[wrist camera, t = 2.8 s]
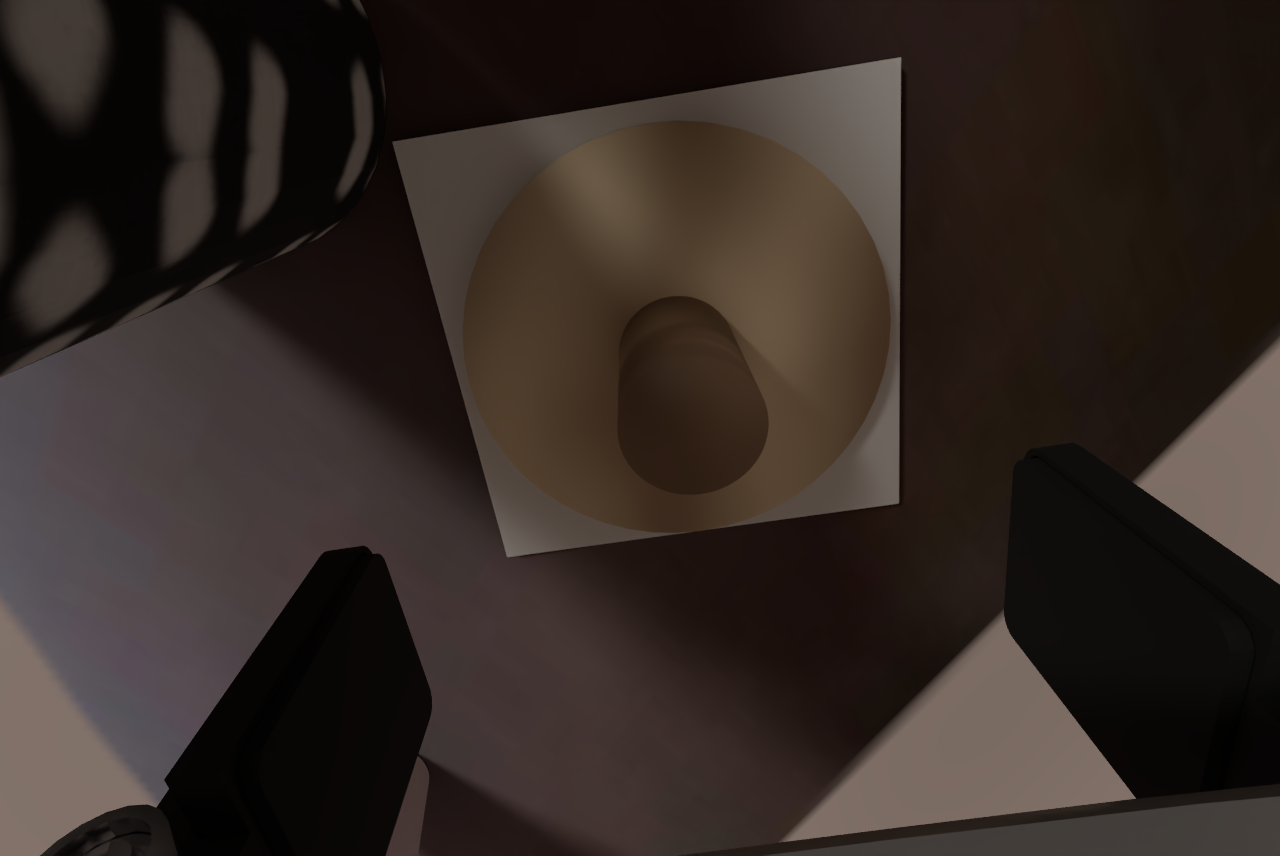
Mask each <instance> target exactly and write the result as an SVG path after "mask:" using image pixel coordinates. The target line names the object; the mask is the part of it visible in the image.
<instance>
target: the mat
mask: <svg viewBox="0 0 1280 856" xmlns="http://www.w3.org/2000/svg"><path fill="white" fill-rule="evenodd" d="M665 121H696V122H709V123H714V124H719V125H724V126H729V127H734V128H739V129H742V130H745V131H748V132H751V133H754V134H757V135H759V136H762V137H765V138H768V139H770V140H772V141H774V142H776V143H778V144H780V145H782V146H784V147H786V148H788V149H789V150H791V151H793V152H795V153H797V154H798V155H800V156H801V157H802V158H804V159H805V160H807V161H808V162H809V163H811V164H812V165H813V166H815V167H816V168H817V169H819V170H820V171H821V172H823V173H824V174H825V175H826V176H827V177H828V178H829V179H830V180H831V181H832V182H833V183H834V184H835V185H836V186H837V187H838V188H839V189H840V190H841V191H842V192H843V194H844V195H845V196H846V198H847V199H848V200H849V202H850V203H851V204H852V206H853V207H854V208H855V210H856V211H857V212H858V214H859V215H860V217H861V218H862V220H863V222H864V224H865V226H866V228H867V230H868V231H869V233H870V235H871V237H872V239H873V241H874V243H875V246H876V249H877V251H878V254H879V257H880V260H881V262H882V265H883V268H884V273H885V278H886V282H887V287H888V292H889V302H890V316H891V327H890V342H889V351H888V356H887V361H886V366H885V371H884V375H883V378H882V381H881V384H880V387H879V390H878V392H877V395H876V398H875V401H874V403H873V405H872V407H871V409H870V411H869V413H868V415H867V417H866V419H865V421H864V423H863V424H862V426H861V427H860V429H859V430H858V432H857V433H856V435H855V437H854V438H853V440H852V441H851V443H850V444H849V445H848V447H847V448H846V449H845V450H844V451H843V452H842V454H841V455H840V456H839V457H838V458H837V460H836V461H835V462H834V463H833V464H832V465H831V466H830V467H829V468H828V469H827V470H826V471H825V472H824V473H823V474H821V475H820V476H819V477H818V478H817V479H816V480H815V481H814V482H813V483H811V484H810V485H809V486H807V487H806V488H804V489H803V490H802V491H800V492H799V493H798V494H796V495H795V496H794V497H792V498H790V499H788V500H787V501H785V502H783V503H781V504H780V505H778V506H776V507H775V508H773V509H771V510H768V511H766V512H764V513H762V514H759V515H757V516H755V517H752V518H750V519H747V520H744V521H741V522H738V523H734V524H731V525H728V526H724V527H731V526H739V525H746V524H753V523H760V522H768V521H775V520H782V519H790V518H797V517H804V516H811V515H819V514H826V513H833V512H841V511H848V510H855V509H862V508H870V507H877V506H884V505H892V504H899V384H900V171H901V57H899V58H893V59H887V60H881V61H875V62H869V63H863V64H857V65H851V66H845V67H839V68H833V69H827V70H821V71H815V72H809V73H803V74H797V75H791V76H785V77H779V78H773V79H767V80H761V81H755V82H749V83H743V84H737V85H731V86H725V87H719V88H713V89H707V90H701V91H695V92H689V93H683V94H677V95H671V96H665V97H659V98H653V99H647V100H640V101H634V102H628V103H622V104H616V105H610V106H604V107H598V108H592V109H586V110H580V111H574V112H568V113H562V114H556V115H550V116H544V117H538V118H532V119H526V120H520V121H514V122H508V123H502V124H496V125H490V126H484V127H478V128H472V129H466V130H460V131H454V132H448V133H442V134H436V135H430V136H424V137H418V138H412V139H406V140H400V141H394V142H392V143H393V147H394V150H395V154H396V157H397V161H398V165H399V168H400V172H401V176H402V179H403V183H404V186H405V190H406V194H407V197H408V201H409V204H410V208H411V212H412V215H413V219H414V222H415V226H416V230H417V233H418V237H419V240H420V244H421V248H422V251H423V255H424V259H425V262H426V266H427V269H428V273H429V277H430V280H431V284H432V287H433V291H434V295H435V298H436V302H437V305H438V309H439V313H440V316H441V320H442V324H443V327H444V331H445V334H446V338H447V342H448V345H449V349H450V352H451V356H452V360H453V363H454V367H455V370H456V374H457V378H458V381H459V385H460V389H461V392H462V396H463V399H464V403H465V407H466V410H467V414H468V417H469V421H470V425H471V428H472V432H473V435H474V439H475V443H476V446H477V450H478V453H479V457H480V461H481V464H482V468H483V472H484V475H485V479H486V482H487V486H488V490H489V493H490V497H491V500H492V504H493V508H494V511H495V515H496V518H497V522H498V526H499V529H500V533H501V537H502V540H503V544H504V547H505V551H506V555H507V557H513V556H520V555H527V554H535V553H542V552H549V551H556V550H564V549H571V548H578V547H586V546H593V545H600V544H607V543H615V542H622V541H629V540H637V539H644V538H651V537H658V536H666V535H673V534H680V533H660V532H646V531H639V530H632V529H626V528H622V527H619V526H615V525H611V524H607V523H603V522H601V521H598V520H596V519H593V518H590V517H588V516H585V515H583V514H580V513H578V512H577V511H575V510H573V509H571V508H569V507H567V506H565V505H563V504H561V503H560V502H558V501H556V500H555V499H554V498H552V497H551V496H549V495H548V494H546V493H545V492H543V491H542V490H541V489H539V488H538V487H537V486H536V485H534V484H533V483H532V482H531V481H530V480H529V479H528V478H527V477H526V476H524V475H523V474H522V473H521V472H520V471H519V470H518V469H517V468H516V466H515V465H514V464H513V463H512V462H511V461H510V460H509V458H508V457H507V456H506V455H505V454H504V453H503V451H502V450H501V448H500V447H499V445H498V444H497V442H496V441H495V439H494V438H493V436H492V435H491V433H490V432H489V430H488V428H487V426H486V424H485V422H484V420H483V418H482V416H481V414H480V412H479V410H478V408H477V405H476V402H475V399H474V396H473V393H472V390H471V387H470V384H469V380H468V375H467V370H466V365H465V360H464V347H463V319H464V306H465V300H466V296H467V291H468V286H469V282H470V277H471V274H472V271H473V269H474V266H475V263H476V261H477V258H478V255H479V253H480V250H481V248H482V246H483V244H484V242H485V240H486V239H487V237H488V235H489V233H490V231H491V229H492V228H493V226H494V224H495V222H496V221H497V220H498V218H499V217H500V216H501V214H502V213H503V212H504V210H505V209H506V207H507V206H508V205H509V203H510V202H511V201H512V199H513V198H514V197H515V196H516V195H517V194H518V193H519V192H520V191H521V190H522V189H523V188H524V187H525V186H526V185H527V184H528V183H529V182H530V181H531V180H532V179H533V178H534V177H535V176H536V175H538V174H539V173H540V172H542V171H543V170H544V169H545V168H547V167H548V166H549V165H551V164H552V163H553V162H555V161H556V160H557V159H559V158H560V157H561V156H563V155H565V154H566V153H568V152H570V151H572V150H573V149H575V148H577V147H579V146H580V145H582V144H584V143H586V142H588V141H590V140H593V139H595V138H598V137H600V136H603V135H605V134H608V133H610V132H613V131H615V130H619V129H624V128H628V127H632V126H636V125H640V124H645V123H654V122H665ZM724 527H719V528H724ZM714 529H717V528H714ZM683 533H688V532H683Z"/></svg>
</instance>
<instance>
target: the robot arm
mask: <svg viewBox="0 0 1280 856" xmlns="http://www.w3.org/2000/svg"><path fill="white" fill-rule="evenodd" d="M1004 616H1005V622H1006V625H1007V628H1008V629H1009V632H1010V634H1011V636H1012V637H1013V639H1014V640H1015V641H1016V643H1017V644H1018V645H1019V646H1020V648H1021V649H1022V650H1023V652H1024V653H1025V654H1026V656H1027V657H1028V658H1029V660H1030V661H1031V662H1032V663H1033V665H1034V666H1035V667H1036V668H1037V670H1038V671H1039V673H1040V674H1041V675H1042V676H1043V677H1044V679H1045V680H1046V682H1047V683H1048V684H1049V685H1050V687H1051V688H1052V689H1053V691H1054V692H1055V693H1056V694H1057V696H1058V697H1059V698H1060V700H1061V701H1062V702H1063V704H1064V705H1065V706H1066V707H1067V709H1068V710H1069V712H1070V713H1071V714H1072V715H1073V717H1074V718H1075V719H1076V721H1077V722H1078V723H1079V725H1080V726H1081V727H1082V728H1083V730H1084V731H1085V732H1086V734H1087V735H1088V736H1089V737H1090V739H1091V740H1092V741H1093V743H1094V744H1095V745H1096V747H1097V748H1098V749H1099V751H1100V752H1101V753H1102V755H1103V756H1104V757H1105V758H1106V760H1107V761H1108V762H1109V764H1110V765H1111V766H1112V768H1113V769H1114V770H1115V771H1116V773H1117V774H1118V775H1119V777H1120V778H1121V779H1122V780H1123V782H1124V783H1125V784H1126V786H1127V787H1128V788H1129V790H1130V791H1131V792H1132V794H1133V795H1134V796H1135V797H1136V799H1131V800H1122V801H1115V802H1106V803H1098V804H1089V805H1081V806H1073V807H1065V808H1056V809H1048V810H1040V811H1032V812H1023V813H1015V814H1007V815H999V816H991V817H982V818H974V819H966V820H958V821H949V822H941V823H934V824H925V825H916V826H908V827H900V828H892V829H884V830H876V831H868V832H860V833H852V834H844V835H836V836H829V837H821V838H813V839H806V840H797V841H789V842H781V843H773V844H765V845H757V846H749V847H742V848H734V849H726V850H718V851H710V852H703V853H695V854H687V855H679V856H1280V584H1278V583H1276V582H1275V581H1274V580H1272V579H1271V578H1269V577H1268V576H1267V575H1265V574H1264V573H1262V572H1261V571H1259V570H1258V569H1256V568H1255V567H1253V566H1252V565H1251V564H1249V563H1248V562H1246V561H1245V560H1243V559H1242V558H1241V557H1239V556H1238V555H1236V554H1235V553H1233V552H1232V551H1231V550H1229V549H1228V548H1226V547H1225V546H1223V545H1222V544H1220V543H1219V542H1217V541H1216V540H1215V539H1213V538H1212V537H1210V536H1209V535H1208V534H1206V533H1205V532H1203V531H1202V530H1200V529H1199V528H1197V527H1196V526H1195V525H1193V524H1192V523H1190V522H1189V521H1187V520H1186V519H1184V518H1183V517H1182V516H1180V515H1179V514H1177V513H1176V512H1174V511H1173V510H1172V509H1170V508H1169V507H1167V506H1166V505H1164V504H1163V503H1161V502H1160V501H1158V500H1157V499H1156V498H1154V497H1153V496H1151V495H1150V494H1148V493H1147V492H1145V491H1144V490H1143V489H1141V488H1140V487H1138V486H1137V485H1135V484H1134V483H1133V482H1131V481H1130V480H1128V479H1127V478H1125V477H1124V476H1123V475H1121V474H1120V473H1118V472H1117V471H1115V470H1114V469H1112V468H1111V467H1110V466H1108V465H1107V464H1105V463H1104V462H1102V461H1101V460H1099V459H1098V458H1097V457H1095V456H1094V455H1092V454H1091V453H1089V452H1088V451H1087V450H1085V449H1084V448H1082V447H1081V446H1079V445H1077V444H1075V443H1067V444H1060V445H1054V446H1047V447H1040V448H1033V449H1030V450H1029V451H1028V452H1027V453H1026V455H1025V457H1024V460H1019V461H1018V462H1017V463H1016V464H1015V466H1014V471H1013V484H1012V499H1011V513H1010V528H1009V543H1008V558H1007V573H1006V588H1005V603H1004ZM431 711H432V696H431V691H430V687H429V685H428V682H427V679H426V676H425V673H424V670H423V667H422V665H421V662H420V659H419V656H418V653H417V650H416V648H415V645H414V642H413V639H412V636H411V633H410V630H409V628H408V625H407V622H406V619H405V616H404V613H403V610H402V608H401V605H400V602H399V599H398V596H397V593H396V590H395V588H394V585H393V582H392V579H391V576H390V573H389V571H388V568H387V565H386V562H385V560H384V558H383V557H382V555H380V554H378V553H377V554H372V552H371V551H370V550H369V548H368V547H365V546H359V547H352V548H345V549H338V550H331V551H326V552H324V553H323V554H322V555H321V556H320V557H319V559H318V560H317V562H316V563H315V565H314V566H313V567H312V569H311V570H310V572H309V573H308V575H307V576H306V578H305V579H304V580H303V582H302V583H301V585H300V586H299V588H298V589H297V590H296V592H295V593H294V595H293V596H292V598H291V599H290V600H289V602H288V603H287V605H286V606H285V608H284V609H283V610H282V612H281V613H280V615H279V616H278V618H277V619H276V620H275V622H274V623H273V625H272V626H271V628H270V629H269V630H268V632H267V633H266V635H265V636H264V638H263V639H262V641H261V642H260V643H259V645H258V646H257V648H256V649H255V651H254V652H253V653H252V655H251V656H250V658H249V659H248V661H247V662H246V663H245V665H244V666H243V668H242V669H241V671H240V672H239V673H238V675H237V676H236V678H235V679H234V681H233V682H232V683H231V685H230V686H229V688H228V689H227V691H226V692H225V693H224V695H223V696H222V698H221V699H220V701H219V702H218V704H217V705H216V706H215V708H214V709H213V711H212V712H211V714H210V715H209V716H208V718H207V719H206V721H205V722H204V724H203V725H202V726H201V728H200V729H199V731H198V732H197V734H196V735H195V736H194V738H193V739H192V741H191V742H190V744H189V745H188V746H187V748H186V749H185V751H184V752H183V754H182V755H181V756H180V758H179V759H178V761H177V762H176V764H175V765H174V767H173V768H172V769H171V771H170V772H169V774H168V775H167V777H166V778H165V779H164V780H165V782H166V784H167V786H168V787H169V790H168V791H167V793H166V794H165V796H164V797H163V799H162V800H161V802H160V803H159V805H158V806H157V808H156V807H153V806H150V805H133V806H126V807H123V808H119V809H116V810H113V811H110V812H106V813H104V814H102V815H100V816H98V817H96V818H94V819H92V820H90V821H88V822H86V823H84V824H82V825H80V826H79V827H78V828H76V829H74V830H73V831H71V832H70V833H68V834H67V835H65V836H64V837H62V838H61V839H59V840H58V841H57V842H56V843H54V844H53V845H52V846H51V847H50V848H48V849H47V850H46V851H45V852H44V853H43V854H42V855H40V856H386V853H387V850H388V847H389V844H390V840H391V837H392V834H393V831H394V828H395V825H396V822H397V819H398V816H399V812H400V809H401V806H402V803H403V800H404V797H405V794H406V791H407V788H408V785H409V781H410V778H411V775H412V772H413V769H414V766H415V763H416V760H417V757H418V753H419V750H420V747H421V744H422V741H423V738H424V735H425V732H426V729H427V726H428V722H429V719H430V716H431Z"/></svg>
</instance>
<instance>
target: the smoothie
mask: <svg viewBox="0 0 1280 856" xmlns="http://www.w3.org/2000/svg"><path fill="white" fill-rule="evenodd" d="M428 786H429V772H428V769H427V767H426V765H425V763H424V762H423V761H422V759H421V758H420V757H419V756H418V757H417V760H416V763H415V766H414V769H413V772H412V775H411V778H410V781H409V785H408V788H407V791H406V794H405V797H404V800H403V803H402V806H401V809H400V812H399V816H398V819H397V822H396V825H395V828H394V831H393V834H392V837H391V840H390V844H389V847H388V850H387V853H386V856H418V852H419V846H420V839H421V832H422V826H423V819H424V812H425V806H426V799H427V792H428Z"/></svg>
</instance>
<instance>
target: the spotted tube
mask: <svg viewBox="0 0 1280 856" xmlns="http://www.w3.org/2000/svg"><path fill="white" fill-rule="evenodd" d="M385 108H386V93H385V86H384V78H383V71H382V63H381V57H380V54H379V51H378V48H377V44H376V41H375V38H374V35H373V31H372V28H371V25H370V22H369V19H368V17H367V15H366V13H365V11H364V9H363V6H362V4H361V2H360V0H0V377H1V376H4V375H6V374H8V373H11V372H13V371H15V370H18V369H20V368H22V367H24V366H27V365H29V364H31V363H34V362H36V361H38V360H41V359H43V358H45V357H48V356H50V355H52V354H54V353H57V352H59V351H61V350H64V349H66V348H68V347H71V346H73V345H75V344H77V343H80V342H82V341H84V340H87V339H89V338H91V337H94V336H96V335H98V334H100V333H103V332H105V331H107V330H110V329H112V328H114V327H117V326H119V325H121V324H124V323H126V322H128V321H130V320H133V319H135V318H137V317H140V316H142V315H144V314H147V313H149V312H151V311H153V310H156V309H158V308H160V307H163V306H165V305H167V304H170V303H172V302H174V301H177V300H179V299H181V298H183V297H186V296H188V295H190V294H193V293H195V292H197V291H200V290H202V289H204V288H206V287H209V286H211V285H213V284H216V283H218V282H220V281H223V280H225V279H227V278H229V277H232V276H234V275H236V274H239V273H241V272H243V271H246V270H248V269H250V268H253V267H255V266H257V265H259V264H262V263H264V262H266V261H269V260H271V259H273V258H276V257H278V256H280V255H282V254H285V253H287V252H289V251H292V250H294V249H296V248H298V247H300V246H303V245H305V244H307V243H309V242H312V241H314V240H316V239H318V238H320V237H321V236H322V235H324V234H325V233H326V232H327V231H329V230H330V229H331V228H333V227H334V226H335V225H337V224H338V223H339V222H340V221H342V220H343V219H344V217H345V216H346V215H347V214H348V213H349V211H350V210H351V209H352V208H353V206H354V205H355V204H356V203H357V201H358V200H359V199H360V198H361V196H362V195H363V193H364V191H365V189H366V187H367V185H368V182H369V180H370V178H371V176H372V174H373V172H374V170H375V168H376V165H377V161H378V157H379V153H380V149H381V145H382V141H383V137H384V129H385Z"/></svg>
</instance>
